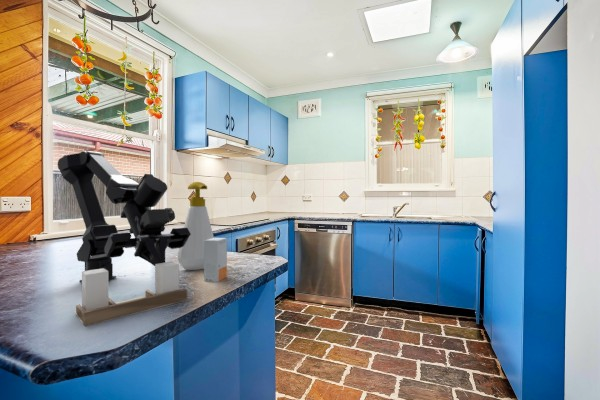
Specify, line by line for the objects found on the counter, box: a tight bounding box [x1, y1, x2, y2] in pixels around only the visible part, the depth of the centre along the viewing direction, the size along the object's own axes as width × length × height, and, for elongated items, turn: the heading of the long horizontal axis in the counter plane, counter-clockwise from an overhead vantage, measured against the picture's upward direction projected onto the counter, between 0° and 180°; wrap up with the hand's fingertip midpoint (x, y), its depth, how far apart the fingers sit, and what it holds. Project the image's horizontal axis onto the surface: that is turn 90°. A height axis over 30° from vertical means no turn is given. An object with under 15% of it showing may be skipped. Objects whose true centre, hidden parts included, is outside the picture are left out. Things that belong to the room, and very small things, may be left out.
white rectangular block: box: [154, 261, 180, 295], centre depth 67 cm, size 4×4×8 cm
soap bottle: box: [177, 181, 215, 271], centre depth 97 cm, size 13×10×29 cm
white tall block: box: [81, 268, 110, 311], centre depth 61 cm, size 4×4×8 cm
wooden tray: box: [74, 288, 188, 327], centre depth 64 cm, size 10×19×3 cm, turn 136°
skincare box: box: [203, 237, 228, 283], centre depth 85 cm, size 6×4×12 cm
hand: (163, 268), depth 69 cm, fingers closed
